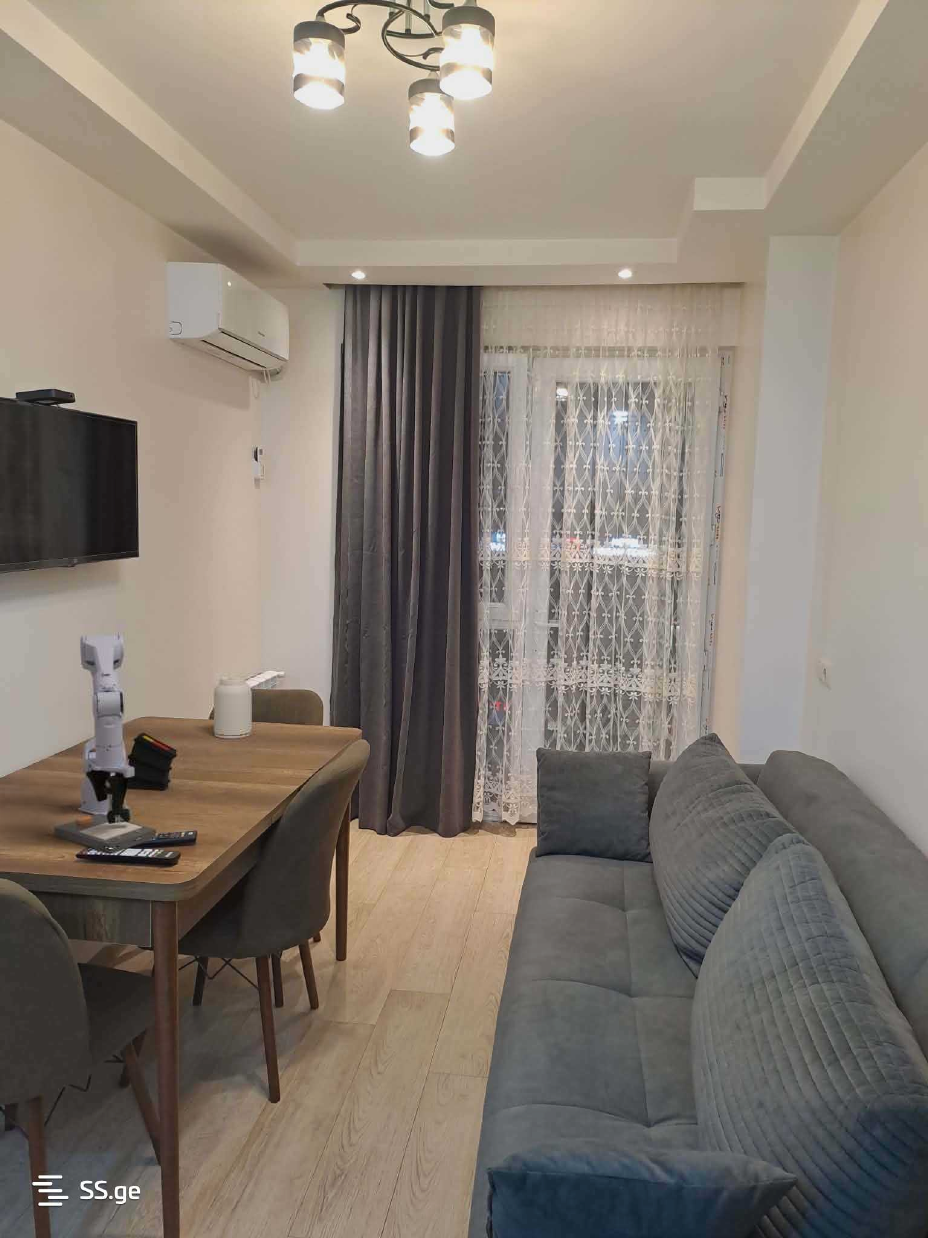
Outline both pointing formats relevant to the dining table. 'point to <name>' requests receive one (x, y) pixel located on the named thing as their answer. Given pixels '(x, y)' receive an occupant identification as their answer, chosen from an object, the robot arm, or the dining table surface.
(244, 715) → the white jar
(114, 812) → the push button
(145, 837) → the control panel
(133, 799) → the dining table surface
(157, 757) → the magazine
